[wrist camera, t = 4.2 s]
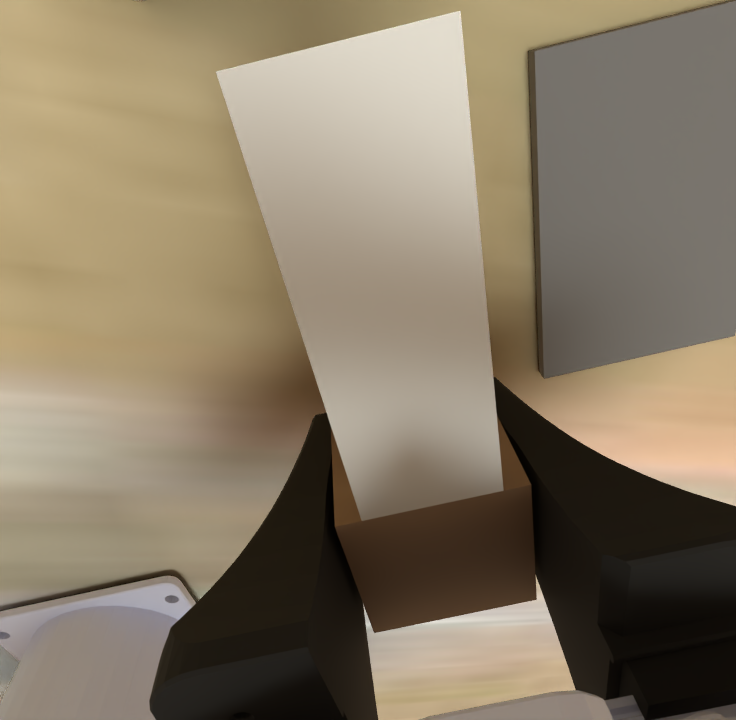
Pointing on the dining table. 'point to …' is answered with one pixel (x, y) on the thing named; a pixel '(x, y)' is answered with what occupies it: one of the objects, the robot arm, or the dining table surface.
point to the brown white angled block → (393, 311)
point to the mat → (635, 189)
